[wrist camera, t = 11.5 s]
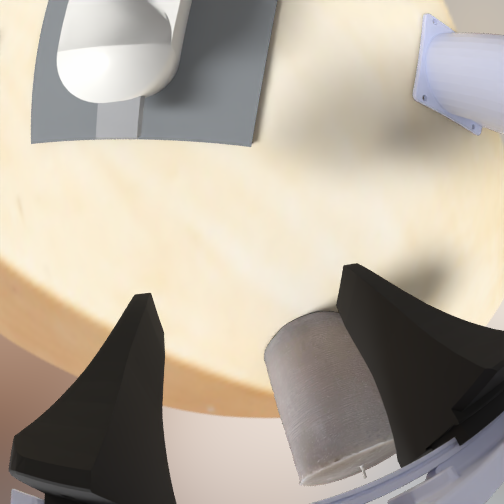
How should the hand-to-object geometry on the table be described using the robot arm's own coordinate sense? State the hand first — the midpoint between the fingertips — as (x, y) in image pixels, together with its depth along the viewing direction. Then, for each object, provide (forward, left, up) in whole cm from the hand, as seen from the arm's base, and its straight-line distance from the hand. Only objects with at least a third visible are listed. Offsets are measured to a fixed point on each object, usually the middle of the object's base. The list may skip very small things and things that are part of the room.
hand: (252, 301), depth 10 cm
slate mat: (+6, -11, -9) cm, 16 cm away
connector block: (+6, -11, -9) cm, 15 cm away
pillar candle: (-10, +14, -10) cm, 20 cm away
